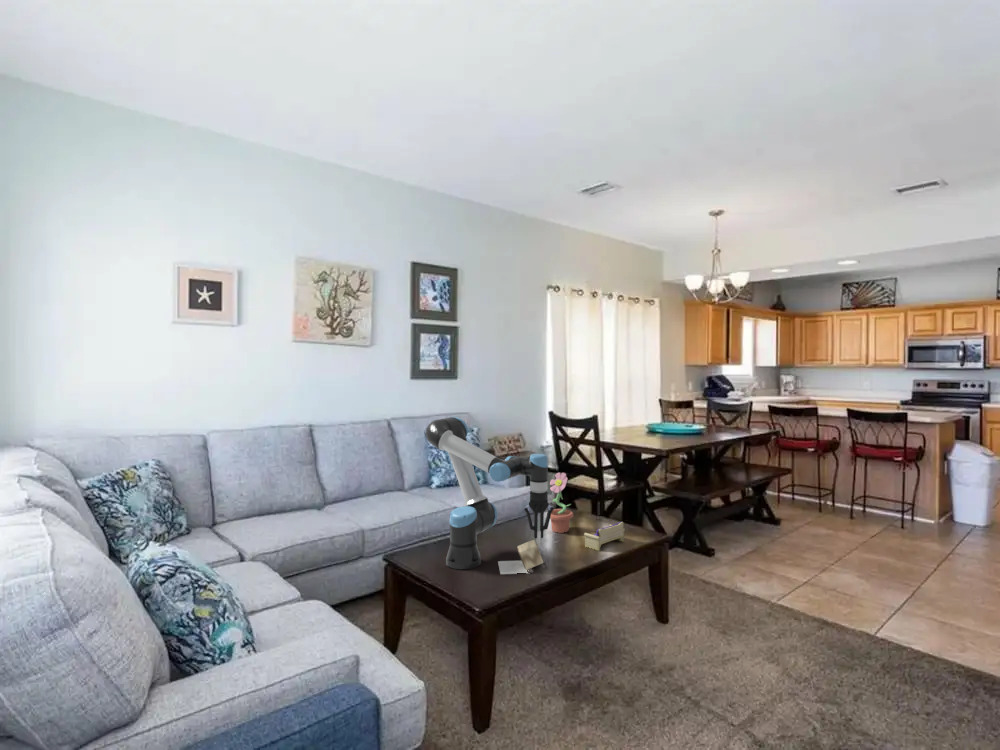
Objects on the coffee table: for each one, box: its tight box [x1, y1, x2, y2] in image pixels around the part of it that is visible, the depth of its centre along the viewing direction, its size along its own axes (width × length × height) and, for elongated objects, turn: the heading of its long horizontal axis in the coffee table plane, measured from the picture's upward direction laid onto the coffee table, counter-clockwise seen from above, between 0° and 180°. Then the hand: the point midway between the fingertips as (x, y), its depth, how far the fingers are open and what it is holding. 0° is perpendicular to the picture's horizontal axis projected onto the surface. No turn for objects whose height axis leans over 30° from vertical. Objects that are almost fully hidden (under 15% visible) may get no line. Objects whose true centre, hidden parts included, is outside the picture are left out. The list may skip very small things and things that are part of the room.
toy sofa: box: [583, 521, 626, 552], centre depth 268 cm, size 21×9×10 cm, turn 132°
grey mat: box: [497, 559, 529, 575], centre depth 238 cm, size 14×14×1 cm
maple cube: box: [517, 538, 544, 570], centre depth 239 cm, size 8×8×8 cm
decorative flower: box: [549, 472, 574, 534], centre depth 288 cm, size 15×14×30 cm
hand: (538, 545), depth 239 cm, fingers closed
